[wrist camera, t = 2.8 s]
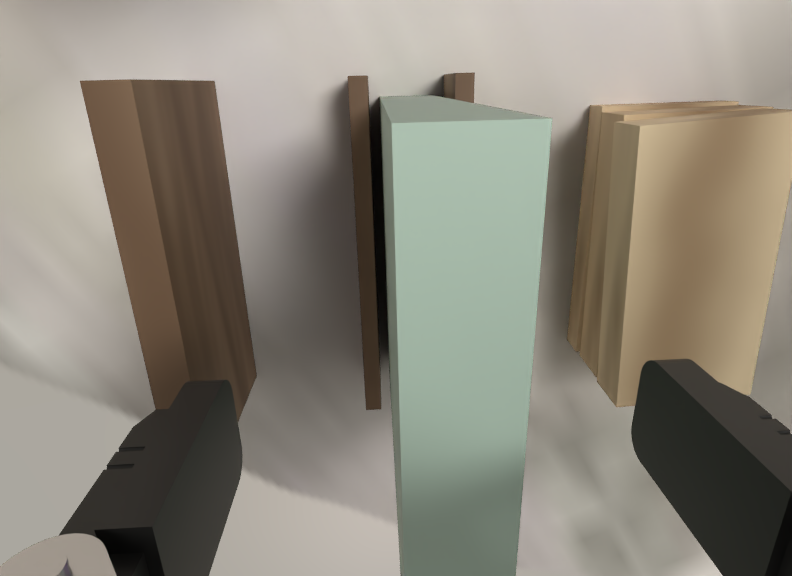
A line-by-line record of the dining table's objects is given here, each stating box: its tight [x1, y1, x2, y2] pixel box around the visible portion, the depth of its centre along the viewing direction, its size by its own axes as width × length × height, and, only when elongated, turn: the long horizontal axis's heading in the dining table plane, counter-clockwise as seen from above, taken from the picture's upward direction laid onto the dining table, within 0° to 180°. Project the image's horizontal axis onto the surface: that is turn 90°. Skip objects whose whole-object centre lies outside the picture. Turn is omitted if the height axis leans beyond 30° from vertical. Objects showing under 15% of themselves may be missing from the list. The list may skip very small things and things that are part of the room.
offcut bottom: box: [567, 101, 738, 352], centre depth 22 cm, size 5×10×2 cm, turn 2°
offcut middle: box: [580, 105, 773, 377], centre depth 20 cm, size 5×10×2 cm, turn 3°
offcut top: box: [597, 108, 792, 407], centre depth 18 cm, size 5×10×2 cm, turn 5°
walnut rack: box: [80, 73, 475, 421], centre depth 18 cm, size 10×12×7 cm
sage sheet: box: [380, 95, 552, 576], centre depth 15 cm, size 2×11×14 cm, turn 2°
